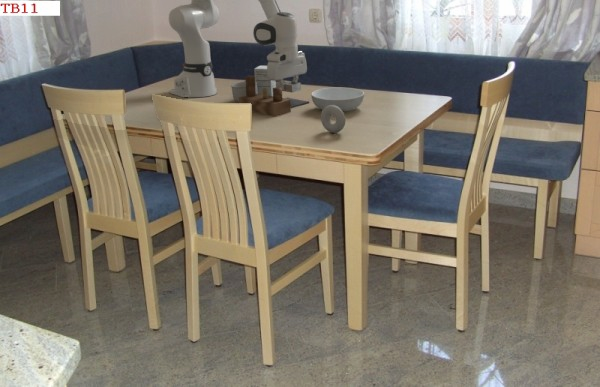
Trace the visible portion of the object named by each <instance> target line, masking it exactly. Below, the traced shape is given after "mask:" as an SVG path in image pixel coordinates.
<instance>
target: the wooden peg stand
mask: <svg viewBox="0 0 600 387" xmlns="http://www.w3.org/2000/svg"><path fill="white" fill-rule="evenodd" d="M244 78H245V79H244V81H246V95H245V96H241V97H239V103H251V104H252V112H251V113H256V114H261V115H266V116H271V117H278V116H281V115H285V114H289V113H291V112H292V108H291V103H290V99H285V98H283V91H282V88H281V87H275V88H273V96H268V95H267V88H263V94H257V93H256V90H255V75H252V74H251V75H245V77H244ZM239 103H238V104H239Z"/></svg>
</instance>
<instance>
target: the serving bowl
mask: <svg viewBox="0 0 600 387" xmlns="http://www.w3.org/2000/svg"><path fill="white" fill-rule="evenodd" d="M310 95H311V101H312V102H313V104H314V106H315V107H317V109H319V110H322V111H323V109H324V108H325V107H327V106H329V105H335V106H337V107H339V108H340V109H341V110H342V111H343V113H346V111H347V112H350V111H353V110H355V109H356V108H358V107H359V106H361V105H362V103H363V101H364V98H365V92H364V91H363V90H361V89H358V88H353V87H342V86H338V87H324V88H319V89H316V90H314V91H312V92H311V94H310Z"/></svg>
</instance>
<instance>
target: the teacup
mask: <svg viewBox="0 0 600 387" xmlns="http://www.w3.org/2000/svg"><path fill="white" fill-rule="evenodd" d="M230 88H231V93H232V98H233V100H234V101H235V102H237V103H238V104H239V97H241V96H245V95H246V81H245V80H244V81H239V82H235V83H233V84H231V86H230ZM255 90H256V93H257V94H258V91H257V82H255Z"/></svg>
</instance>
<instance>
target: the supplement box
mask: <svg viewBox="0 0 600 387" xmlns="http://www.w3.org/2000/svg"><path fill="white" fill-rule="evenodd" d="M253 70H254V76H255V82H257V91H258V94H263V88H267V95H268V96H273V88H275V87H276V83H277V80H276V81H273V80H269V79H268V76H267V65H258V66H256V67H255V68H254V69H253Z"/></svg>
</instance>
